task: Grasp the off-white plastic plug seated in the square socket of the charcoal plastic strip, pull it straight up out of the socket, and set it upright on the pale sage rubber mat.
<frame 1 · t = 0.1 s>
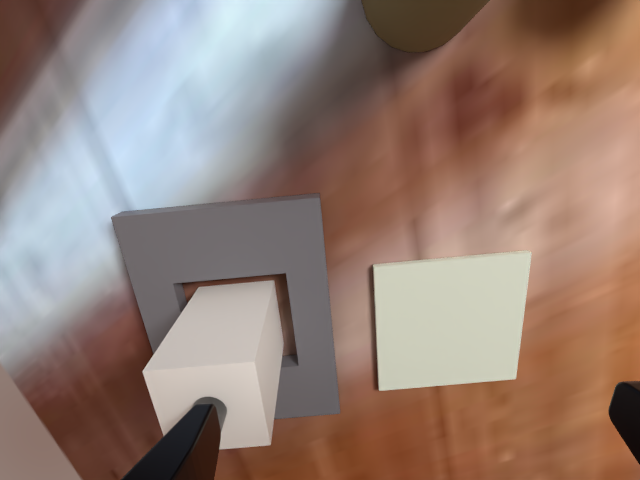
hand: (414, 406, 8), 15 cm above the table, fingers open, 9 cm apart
socket strip: (242, 316, 24), on the table
plug: (225, 366, 19), in the socket strip
mat: (447, 323, 24), on the table
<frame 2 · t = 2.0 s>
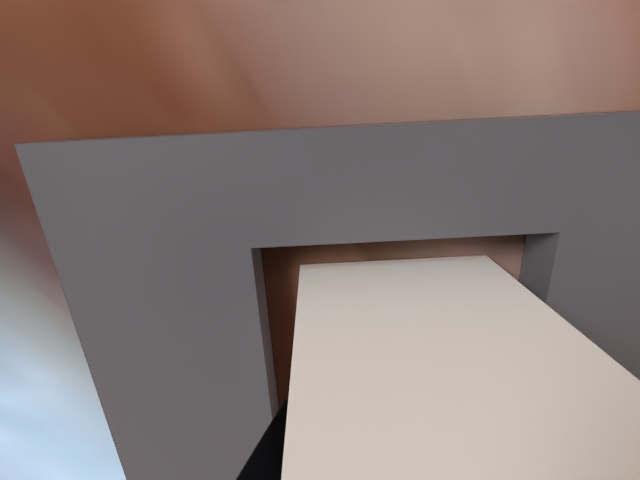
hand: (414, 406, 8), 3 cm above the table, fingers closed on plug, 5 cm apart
socket strip: (390, 338, 10), on the table
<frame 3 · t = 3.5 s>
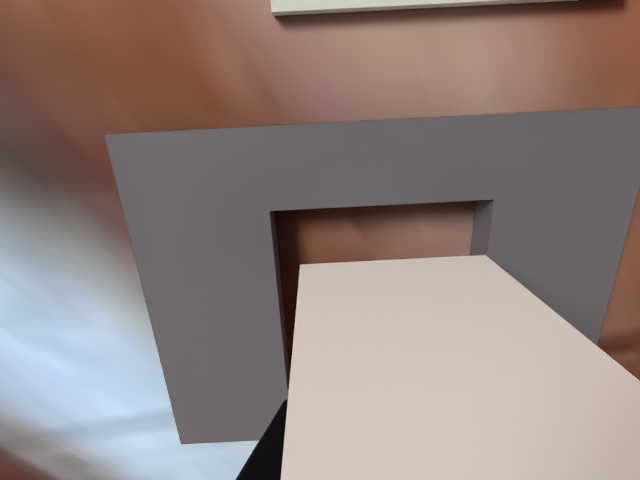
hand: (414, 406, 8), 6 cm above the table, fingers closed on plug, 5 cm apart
socket strip: (374, 287, 13), on the table
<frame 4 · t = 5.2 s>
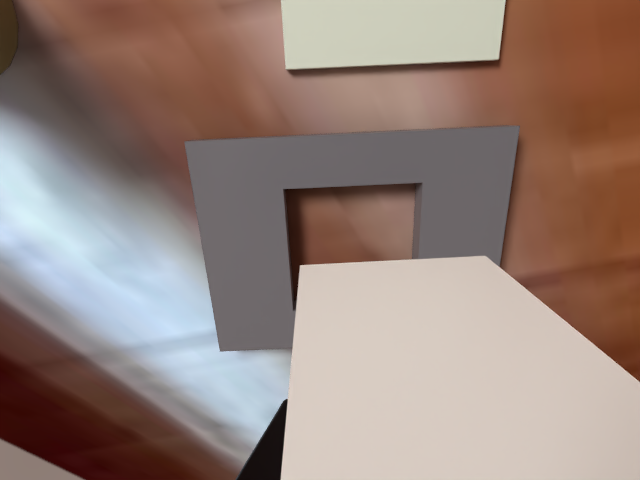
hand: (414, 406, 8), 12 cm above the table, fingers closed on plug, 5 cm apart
socket strip: (351, 243, 20), on the table
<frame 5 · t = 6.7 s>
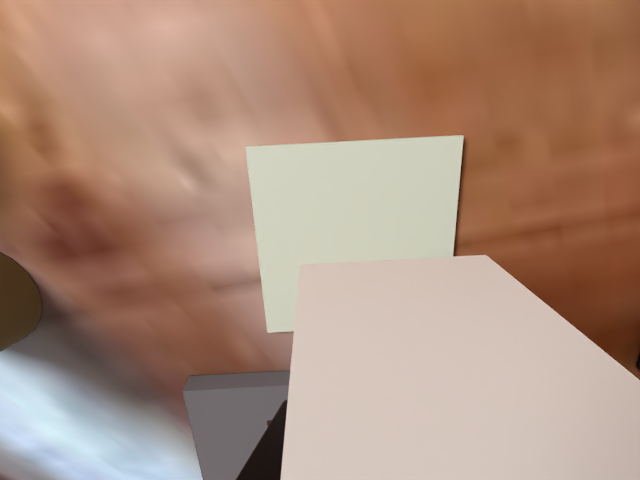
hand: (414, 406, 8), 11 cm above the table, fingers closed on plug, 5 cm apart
socket strip: (327, 443, 23), on the table
mat: (355, 240, 18), on the table
when the fingers open (4 cm above the table, at t = 8.2 s): plug stays where it is, resting on mat.
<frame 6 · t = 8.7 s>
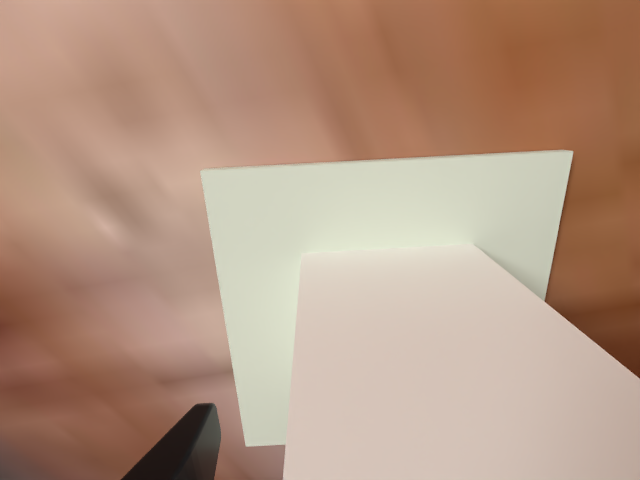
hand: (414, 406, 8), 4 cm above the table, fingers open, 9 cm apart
plug: (440, 476, 6), on the mat
mat: (382, 314, 11), on the table
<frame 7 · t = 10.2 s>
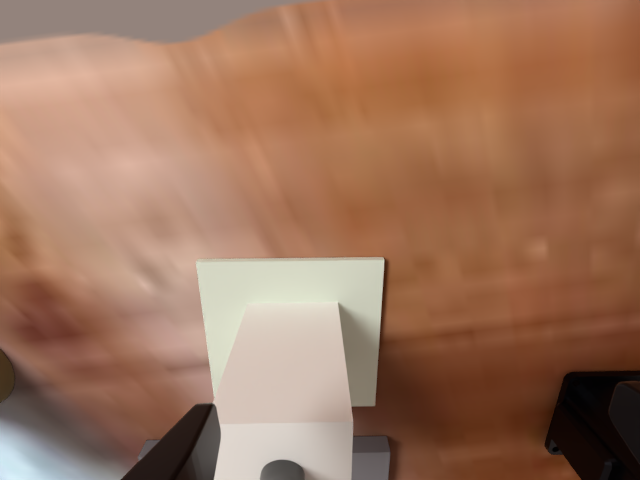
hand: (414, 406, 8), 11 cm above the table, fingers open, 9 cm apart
plug: (288, 409, 15), on the mat
mat: (293, 336, 20), on the table
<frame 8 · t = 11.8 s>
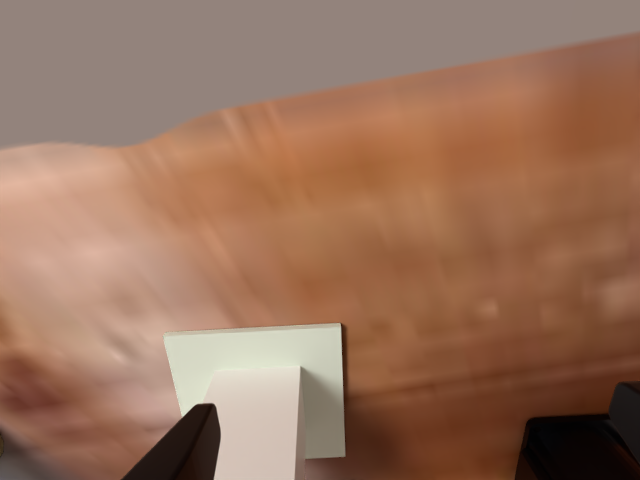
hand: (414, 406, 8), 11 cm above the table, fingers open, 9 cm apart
mat: (262, 396, 22), on the table
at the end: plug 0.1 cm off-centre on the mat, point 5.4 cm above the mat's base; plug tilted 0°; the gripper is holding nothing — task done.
